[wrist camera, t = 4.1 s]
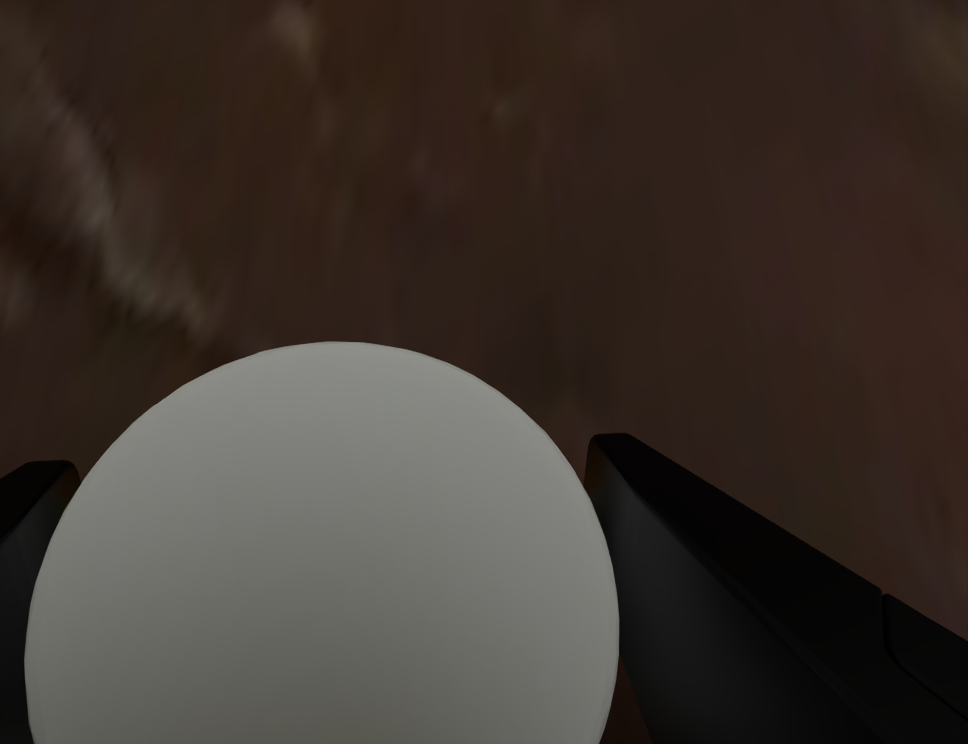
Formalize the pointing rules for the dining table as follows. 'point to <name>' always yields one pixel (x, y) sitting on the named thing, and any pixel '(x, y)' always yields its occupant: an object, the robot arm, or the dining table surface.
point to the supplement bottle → (326, 568)
